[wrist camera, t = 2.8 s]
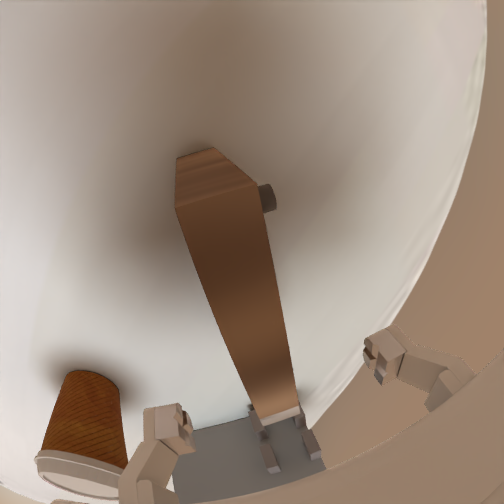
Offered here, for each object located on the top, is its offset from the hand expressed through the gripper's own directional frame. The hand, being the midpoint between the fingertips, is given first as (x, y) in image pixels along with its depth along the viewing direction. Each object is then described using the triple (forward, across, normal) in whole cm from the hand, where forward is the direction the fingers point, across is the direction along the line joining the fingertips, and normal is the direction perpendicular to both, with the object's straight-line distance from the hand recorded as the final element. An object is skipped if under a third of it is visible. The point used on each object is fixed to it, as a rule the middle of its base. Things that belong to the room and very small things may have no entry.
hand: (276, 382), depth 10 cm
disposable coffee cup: (+12, +18, +10) cm, 24 cm away
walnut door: (+11, 0, -1) cm, 11 cm away
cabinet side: (+12, +6, +23) cm, 26 cm away
